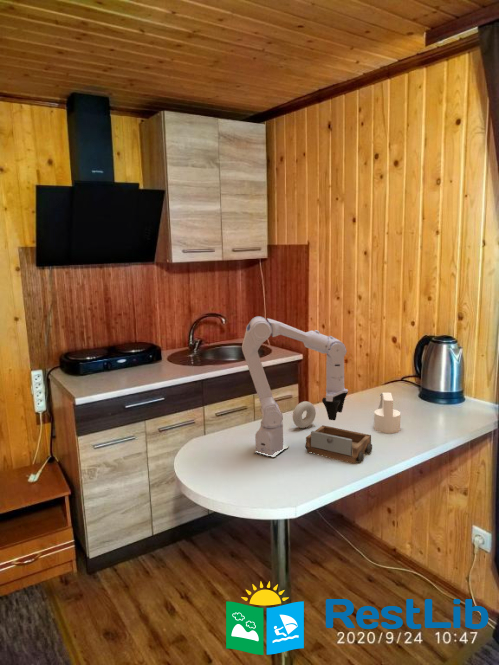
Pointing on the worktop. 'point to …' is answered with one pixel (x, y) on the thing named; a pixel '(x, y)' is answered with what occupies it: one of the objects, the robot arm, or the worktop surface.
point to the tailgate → (331, 443)
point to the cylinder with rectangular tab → (387, 416)
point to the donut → (299, 411)
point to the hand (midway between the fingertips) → (335, 415)
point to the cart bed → (359, 440)
